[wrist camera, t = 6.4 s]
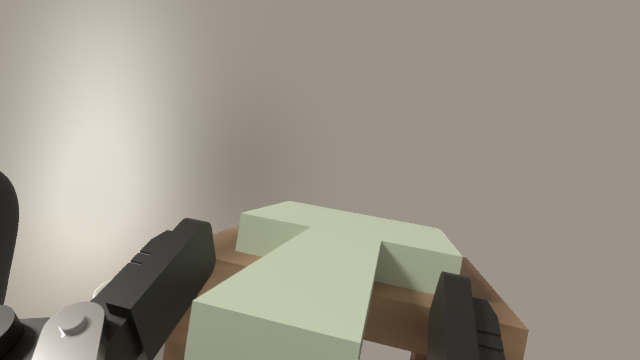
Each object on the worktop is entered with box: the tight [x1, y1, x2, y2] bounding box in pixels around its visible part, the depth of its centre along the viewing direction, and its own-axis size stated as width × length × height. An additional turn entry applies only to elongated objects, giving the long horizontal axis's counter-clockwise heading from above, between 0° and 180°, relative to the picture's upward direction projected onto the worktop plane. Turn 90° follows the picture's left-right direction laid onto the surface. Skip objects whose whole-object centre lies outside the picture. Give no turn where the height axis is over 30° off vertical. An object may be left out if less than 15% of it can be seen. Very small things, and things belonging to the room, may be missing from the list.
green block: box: [184, 201, 463, 360], centre depth 17 cm, size 11×20×2 cm, turn 168°
